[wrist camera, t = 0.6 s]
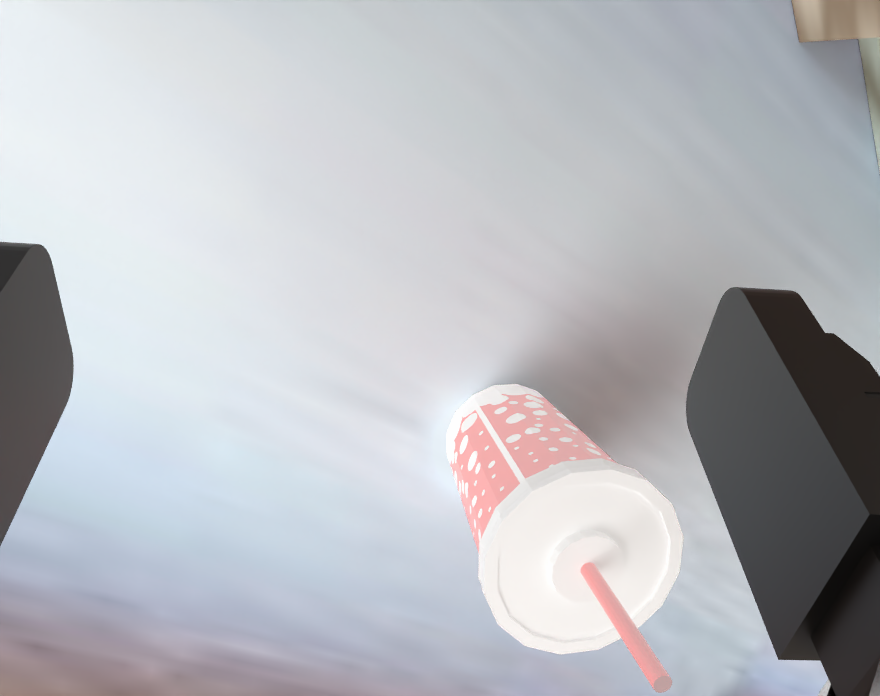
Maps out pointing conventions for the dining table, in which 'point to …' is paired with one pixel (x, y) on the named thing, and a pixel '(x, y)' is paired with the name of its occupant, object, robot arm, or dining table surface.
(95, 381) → the dining table surface
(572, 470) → the beverage cup
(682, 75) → the dining table surface
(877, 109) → the stand
